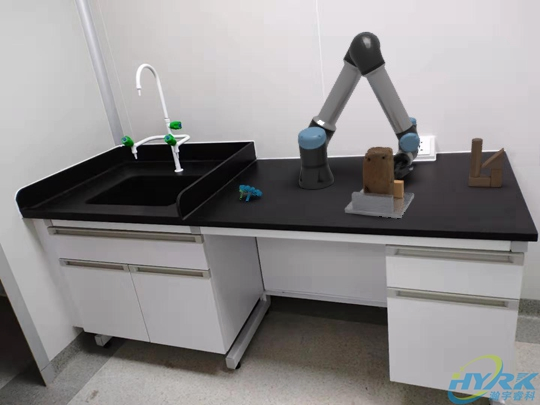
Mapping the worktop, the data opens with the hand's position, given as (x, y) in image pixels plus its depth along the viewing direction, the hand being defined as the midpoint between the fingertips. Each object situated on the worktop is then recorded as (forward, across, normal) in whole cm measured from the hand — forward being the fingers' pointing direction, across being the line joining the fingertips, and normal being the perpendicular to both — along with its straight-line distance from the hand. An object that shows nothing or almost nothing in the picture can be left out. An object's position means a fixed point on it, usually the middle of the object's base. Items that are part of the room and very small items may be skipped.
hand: (385, 181), depth 155 cm
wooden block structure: (-19, -32, -7) cm, 37 cm away
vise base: (+7, 0, -6) cm, 9 cm away
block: (+7, +1, -5) cm, 9 cm away
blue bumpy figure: (+13, +54, -7) cm, 56 cm away
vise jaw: (+2, 0, -5) cm, 5 cm away
